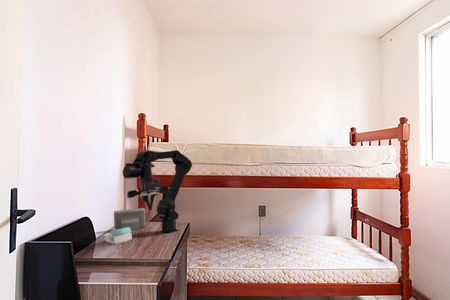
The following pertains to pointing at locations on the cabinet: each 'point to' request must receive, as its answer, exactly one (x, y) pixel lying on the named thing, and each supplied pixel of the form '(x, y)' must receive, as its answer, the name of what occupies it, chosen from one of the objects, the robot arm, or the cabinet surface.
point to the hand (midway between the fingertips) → (150, 210)
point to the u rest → (118, 238)
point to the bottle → (119, 232)
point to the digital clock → (129, 219)
